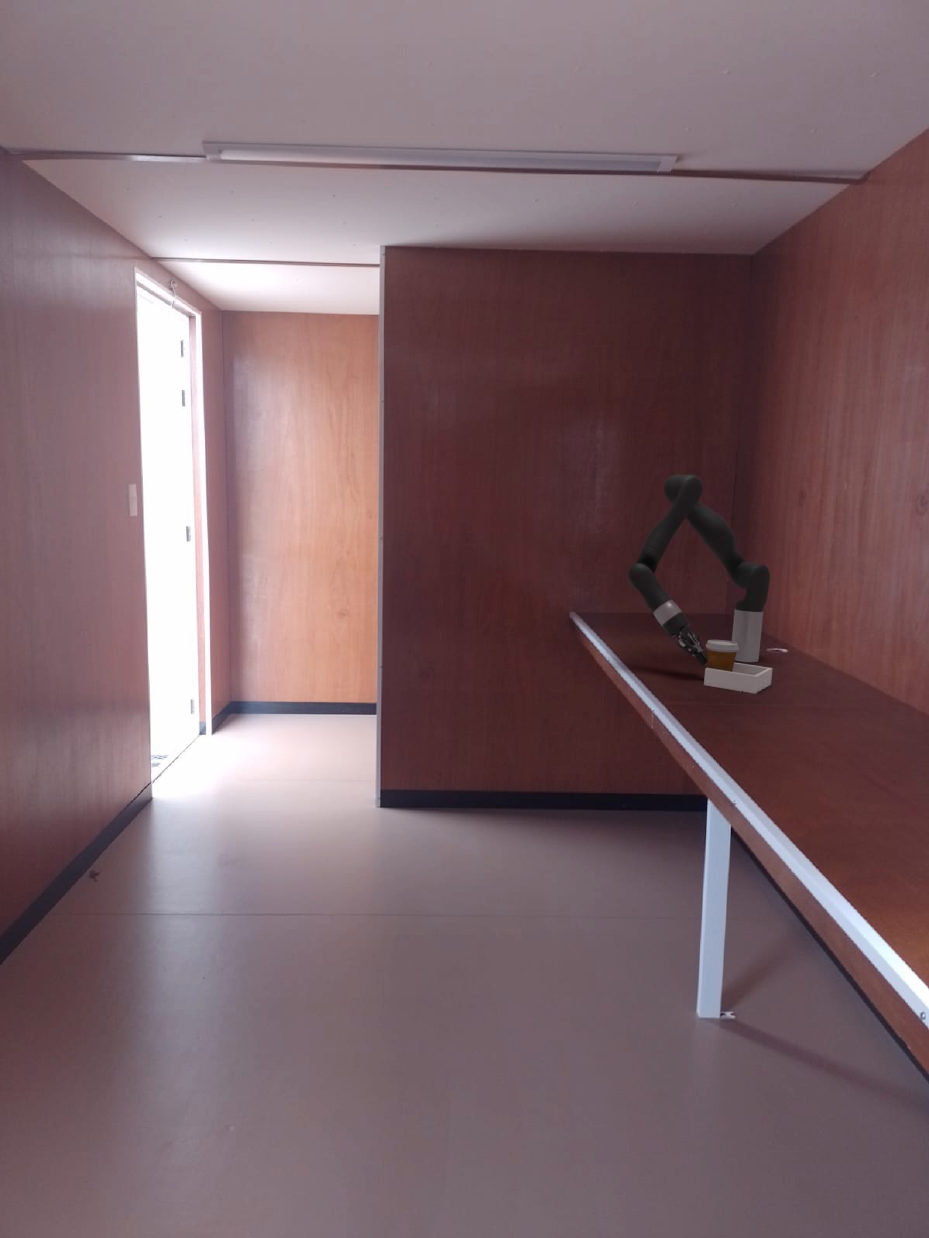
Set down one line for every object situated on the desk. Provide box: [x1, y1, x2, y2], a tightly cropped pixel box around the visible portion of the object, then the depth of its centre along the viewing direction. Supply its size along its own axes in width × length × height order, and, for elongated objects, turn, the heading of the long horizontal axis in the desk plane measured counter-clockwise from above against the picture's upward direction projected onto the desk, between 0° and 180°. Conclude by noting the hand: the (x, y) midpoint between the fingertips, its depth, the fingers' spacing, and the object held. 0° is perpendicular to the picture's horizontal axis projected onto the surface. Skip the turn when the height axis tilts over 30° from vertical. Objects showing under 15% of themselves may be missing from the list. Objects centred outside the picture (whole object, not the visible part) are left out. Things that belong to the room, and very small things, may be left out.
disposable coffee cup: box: [705, 639, 739, 672], centre depth 267 cm, size 10×10×12 cm
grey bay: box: [703, 662, 773, 695], centre depth 264 cm, size 16×15×5 cm
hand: (706, 663), depth 269 cm, fingers closed
